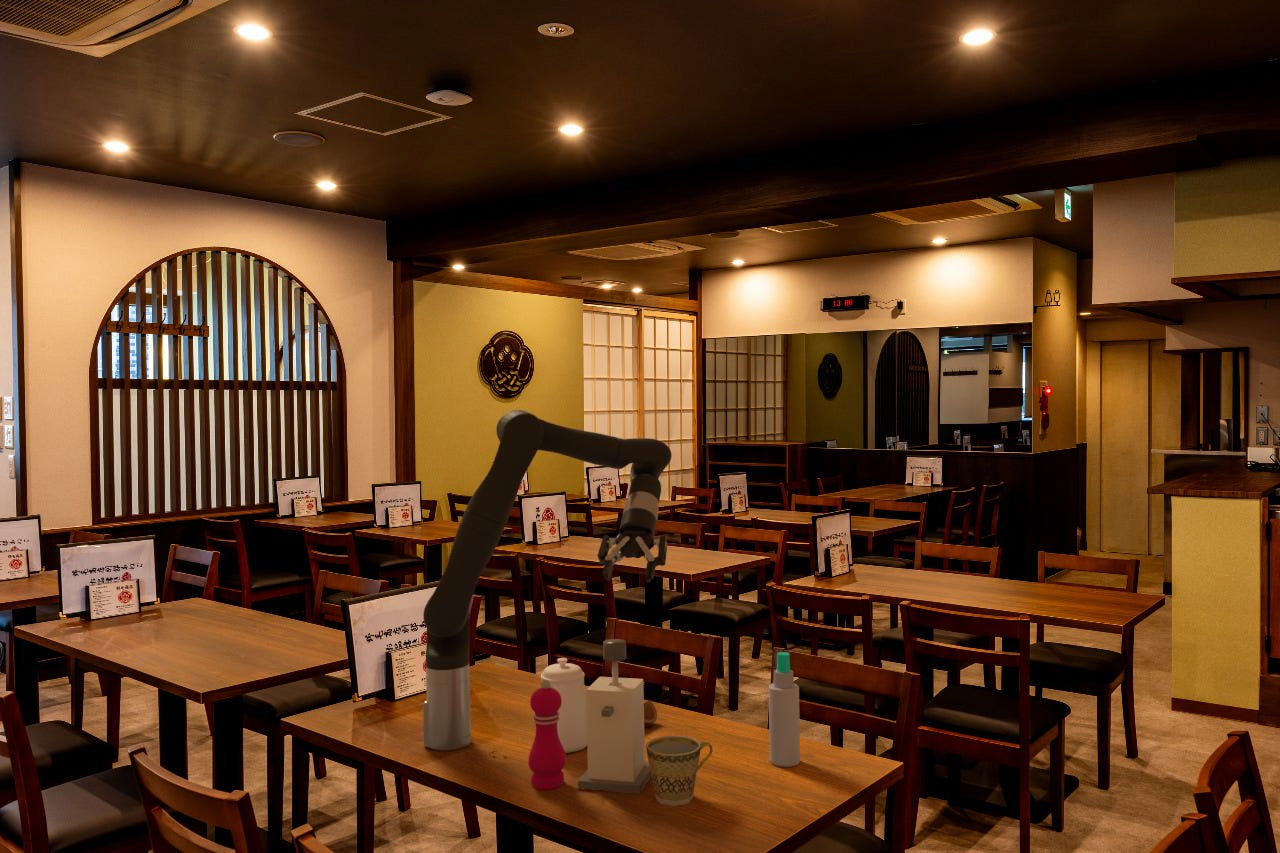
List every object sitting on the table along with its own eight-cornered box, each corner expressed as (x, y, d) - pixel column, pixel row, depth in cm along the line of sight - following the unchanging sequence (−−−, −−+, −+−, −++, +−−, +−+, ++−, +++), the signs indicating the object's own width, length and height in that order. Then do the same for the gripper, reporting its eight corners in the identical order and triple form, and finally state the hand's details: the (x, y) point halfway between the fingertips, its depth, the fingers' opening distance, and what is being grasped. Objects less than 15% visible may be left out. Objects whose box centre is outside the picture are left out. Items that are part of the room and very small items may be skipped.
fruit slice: (642, 734, 209) (642, 711, 209) (617, 729, 213) (617, 707, 213) (662, 723, 216) (662, 701, 216) (637, 718, 220) (637, 697, 220)
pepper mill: (551, 793, 177) (549, 687, 177) (521, 786, 181) (518, 682, 181) (573, 780, 183) (571, 677, 183) (544, 773, 187) (542, 673, 187)
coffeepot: (520, 767, 191) (518, 674, 191) (555, 726, 215) (554, 643, 215) (572, 770, 189) (570, 676, 188) (602, 728, 213) (600, 645, 213)
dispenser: (576, 790, 178) (574, 693, 178) (596, 765, 191) (594, 674, 191) (638, 795, 175) (636, 696, 175) (654, 769, 188) (652, 677, 188)
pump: (602, 750, 182) (600, 644, 182) (608, 742, 186) (606, 638, 186) (624, 752, 181) (622, 645, 181) (630, 744, 185) (628, 639, 185)
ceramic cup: (661, 814, 167) (660, 758, 167) (638, 793, 177) (637, 740, 176) (725, 801, 173) (724, 746, 172) (700, 781, 182) (699, 729, 182)
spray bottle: (766, 765, 189) (764, 656, 189) (773, 755, 195) (772, 648, 194) (796, 769, 187) (794, 658, 187) (802, 758, 193) (801, 651, 192)
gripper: (604, 506, 205) (590, 567, 194) (669, 506, 201) (657, 569, 190) (611, 527, 210) (597, 588, 199) (674, 528, 206) (664, 590, 195)
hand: (627, 579), depth 195 cm, fingers open, 8 cm apart
